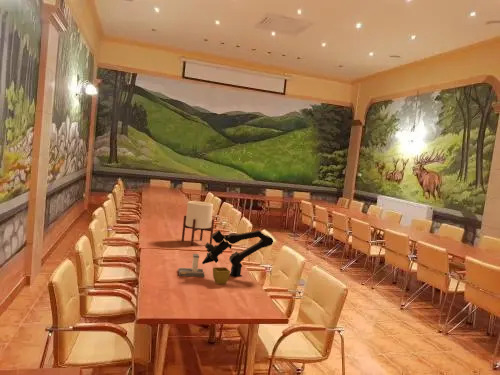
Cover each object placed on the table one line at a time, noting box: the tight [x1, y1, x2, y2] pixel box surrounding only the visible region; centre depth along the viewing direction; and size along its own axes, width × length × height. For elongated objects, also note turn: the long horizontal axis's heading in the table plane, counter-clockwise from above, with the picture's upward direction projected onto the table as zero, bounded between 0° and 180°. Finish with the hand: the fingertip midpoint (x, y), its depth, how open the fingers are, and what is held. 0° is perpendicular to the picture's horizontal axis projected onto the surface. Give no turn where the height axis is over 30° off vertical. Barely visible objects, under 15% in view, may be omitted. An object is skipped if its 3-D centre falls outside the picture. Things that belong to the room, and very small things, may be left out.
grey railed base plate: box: [177, 267, 205, 278], centre depth 278 cm, size 16×12×2 cm
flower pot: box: [212, 266, 231, 285], centre depth 264 cm, size 9×9×9 cm
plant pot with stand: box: [181, 200, 215, 247], centre depth 375 cm, size 22×22×36 cm
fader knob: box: [191, 253, 200, 272], centre depth 279 cm, size 3×6×11 cm, turn 14°
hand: (202, 263), depth 280 cm, fingers closed
